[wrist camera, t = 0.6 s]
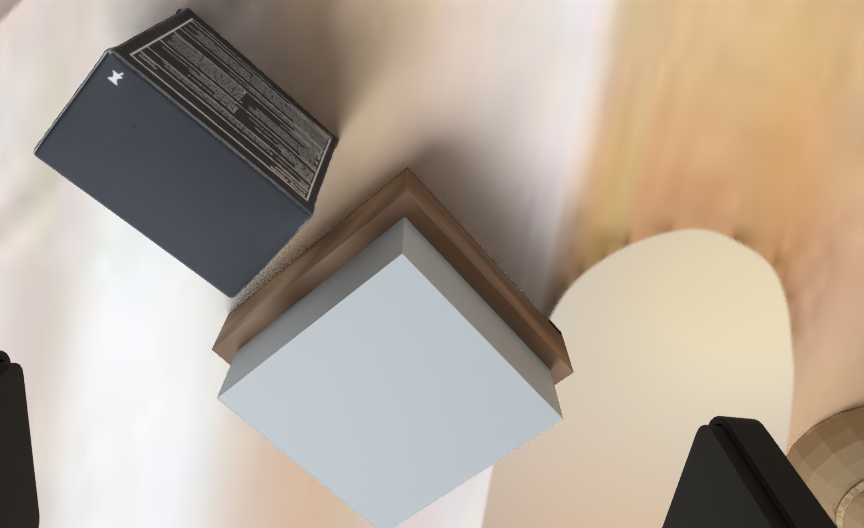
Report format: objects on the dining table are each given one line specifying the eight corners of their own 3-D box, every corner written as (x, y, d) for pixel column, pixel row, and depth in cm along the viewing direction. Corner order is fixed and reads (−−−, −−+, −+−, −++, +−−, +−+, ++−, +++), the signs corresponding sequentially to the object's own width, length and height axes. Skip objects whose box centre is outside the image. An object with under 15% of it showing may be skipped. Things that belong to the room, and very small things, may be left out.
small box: (116, 94, 40) (20, 156, 30) (185, 2, 37) (106, 38, 28) (271, 217, 43) (228, 308, 34) (343, 139, 41) (318, 212, 31)
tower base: (408, 163, 42) (406, 191, 38) (561, 331, 47) (573, 372, 43) (230, 310, 46) (211, 349, 42) (388, 449, 52) (385, 496, 48)
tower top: (404, 216, 39) (402, 253, 35) (550, 370, 43) (563, 419, 39) (236, 350, 42) (217, 398, 38) (386, 479, 47) (383, 534, 43)
